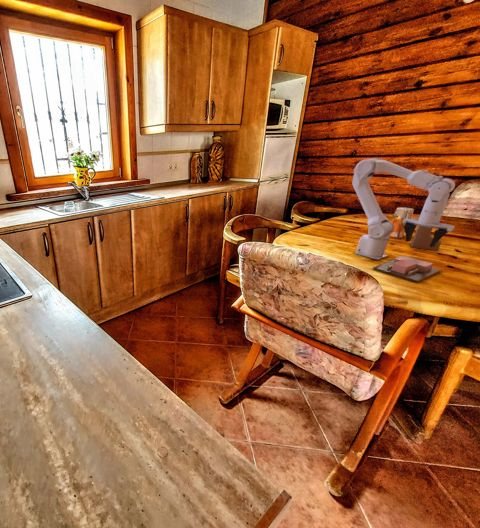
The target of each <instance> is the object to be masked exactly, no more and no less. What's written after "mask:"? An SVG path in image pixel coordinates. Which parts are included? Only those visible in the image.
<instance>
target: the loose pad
mask: <svg viewBox="0 0 480 528" xmlns="http://www.w3.org/2000/svg"><path fill="white" fill-rule="evenodd" d="M416 266H417V263H414V262H410V261H406V260H402V261H399V262H395V263H393V266H392V268H391V270H393V271H396V272H400V273H403V274H406V273H408V272H409V271H412V270H414V269H415V268H416Z"/></svg>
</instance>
